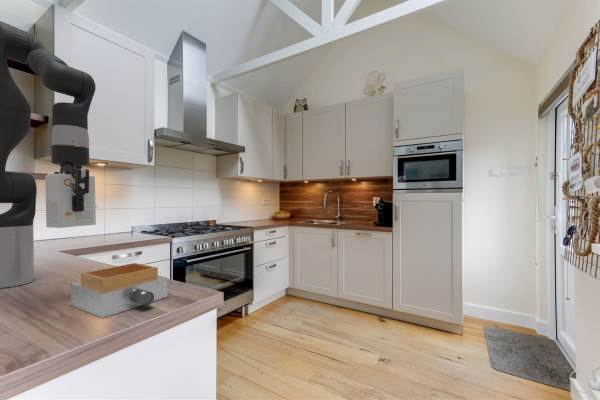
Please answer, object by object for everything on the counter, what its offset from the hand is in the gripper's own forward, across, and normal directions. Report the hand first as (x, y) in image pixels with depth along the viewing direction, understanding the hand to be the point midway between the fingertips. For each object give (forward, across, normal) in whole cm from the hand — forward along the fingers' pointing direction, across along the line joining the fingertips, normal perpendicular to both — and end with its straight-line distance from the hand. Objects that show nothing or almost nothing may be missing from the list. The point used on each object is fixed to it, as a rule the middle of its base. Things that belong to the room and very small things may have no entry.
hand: (71, 211), depth 72 cm
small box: (+4, 0, 0) cm, 4 cm away
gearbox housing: (+22, +15, +5) cm, 27 cm away
